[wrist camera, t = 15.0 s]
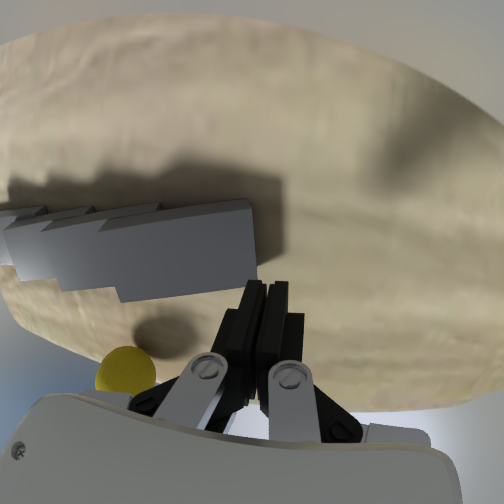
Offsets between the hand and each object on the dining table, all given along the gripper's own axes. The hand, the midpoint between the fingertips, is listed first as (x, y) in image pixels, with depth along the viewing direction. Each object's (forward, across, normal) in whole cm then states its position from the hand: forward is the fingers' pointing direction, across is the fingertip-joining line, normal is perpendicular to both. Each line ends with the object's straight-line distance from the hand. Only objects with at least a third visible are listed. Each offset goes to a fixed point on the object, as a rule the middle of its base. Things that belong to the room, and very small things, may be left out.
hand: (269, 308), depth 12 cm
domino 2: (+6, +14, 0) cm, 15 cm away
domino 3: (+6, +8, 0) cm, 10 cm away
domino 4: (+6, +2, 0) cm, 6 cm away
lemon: (+7, +14, +13) cm, 20 cm away
